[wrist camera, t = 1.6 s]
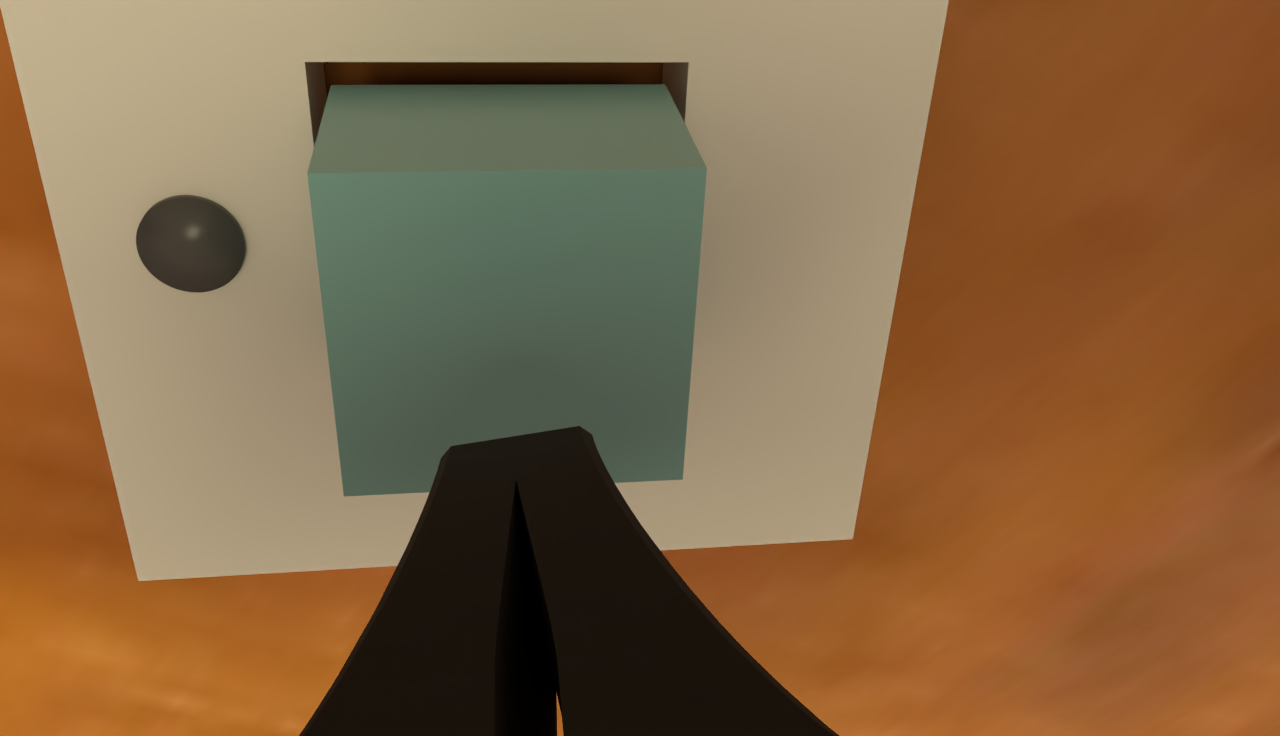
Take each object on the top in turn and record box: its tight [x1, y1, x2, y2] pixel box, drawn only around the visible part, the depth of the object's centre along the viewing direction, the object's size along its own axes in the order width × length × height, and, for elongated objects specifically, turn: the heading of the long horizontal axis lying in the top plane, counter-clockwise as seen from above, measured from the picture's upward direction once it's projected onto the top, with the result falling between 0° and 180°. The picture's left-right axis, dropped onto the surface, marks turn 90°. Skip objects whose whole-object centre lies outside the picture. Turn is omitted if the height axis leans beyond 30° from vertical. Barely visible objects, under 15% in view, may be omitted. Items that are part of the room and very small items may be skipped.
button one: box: [307, 84, 707, 497], centre depth 15 cm, size 4×4×3 cm
